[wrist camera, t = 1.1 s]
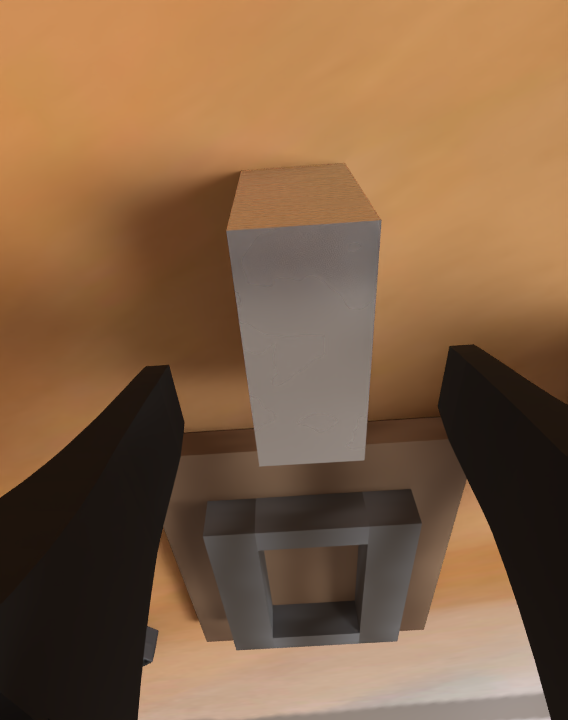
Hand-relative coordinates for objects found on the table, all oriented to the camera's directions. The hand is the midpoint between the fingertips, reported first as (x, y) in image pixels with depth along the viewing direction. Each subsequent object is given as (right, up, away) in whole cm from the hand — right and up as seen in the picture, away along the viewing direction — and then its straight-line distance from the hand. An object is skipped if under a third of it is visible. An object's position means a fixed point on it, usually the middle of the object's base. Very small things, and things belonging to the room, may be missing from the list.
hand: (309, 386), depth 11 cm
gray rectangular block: (0, +4, +6) cm, 7 cm away
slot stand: (+1, -11, +16) cm, 19 cm away
